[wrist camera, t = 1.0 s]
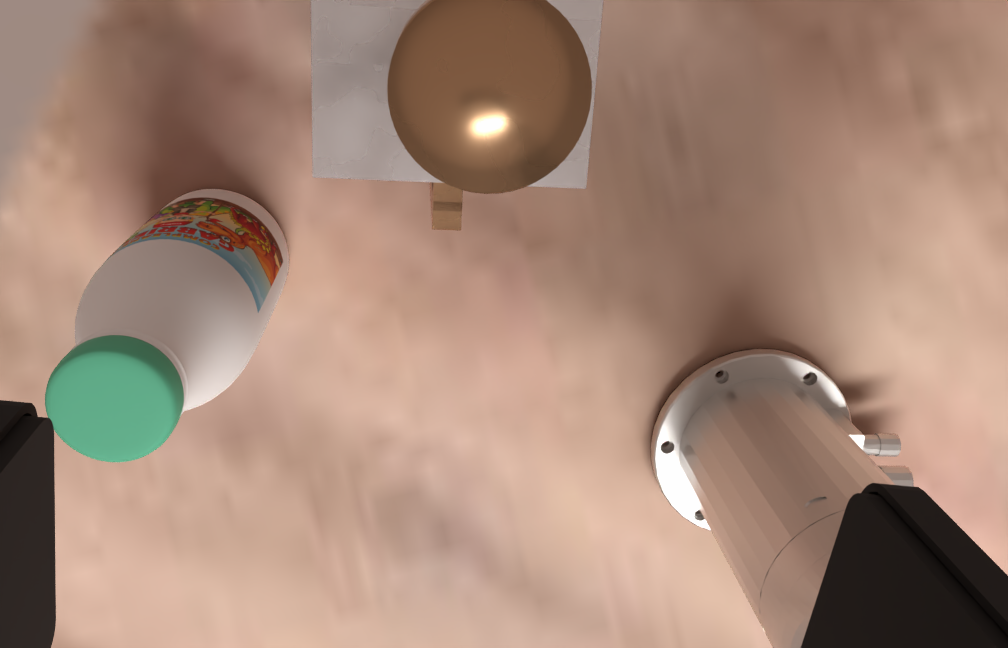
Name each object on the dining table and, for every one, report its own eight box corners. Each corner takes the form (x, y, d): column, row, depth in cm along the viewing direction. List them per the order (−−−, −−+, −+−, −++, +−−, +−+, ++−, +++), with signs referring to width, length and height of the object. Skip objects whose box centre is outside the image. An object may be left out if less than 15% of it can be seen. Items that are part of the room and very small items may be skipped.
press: (551, -79, 47) (612, -107, 32) (533, 174, 52) (580, 253, 37) (344, -94, 46) (309, -129, 31) (344, 166, 51) (313, 244, 36)
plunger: (564, -70, 36) (724, -124, 17) (548, 144, 39) (670, 297, 20) (349, -85, 35) (270, -160, 16) (348, 134, 38) (280, 286, 19)
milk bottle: (312, 293, 53) (254, 464, 34) (185, 337, 53) (59, 530, 35) (257, 166, 50) (161, 276, 32) (124, 212, 50) (-49, 349, 32)
